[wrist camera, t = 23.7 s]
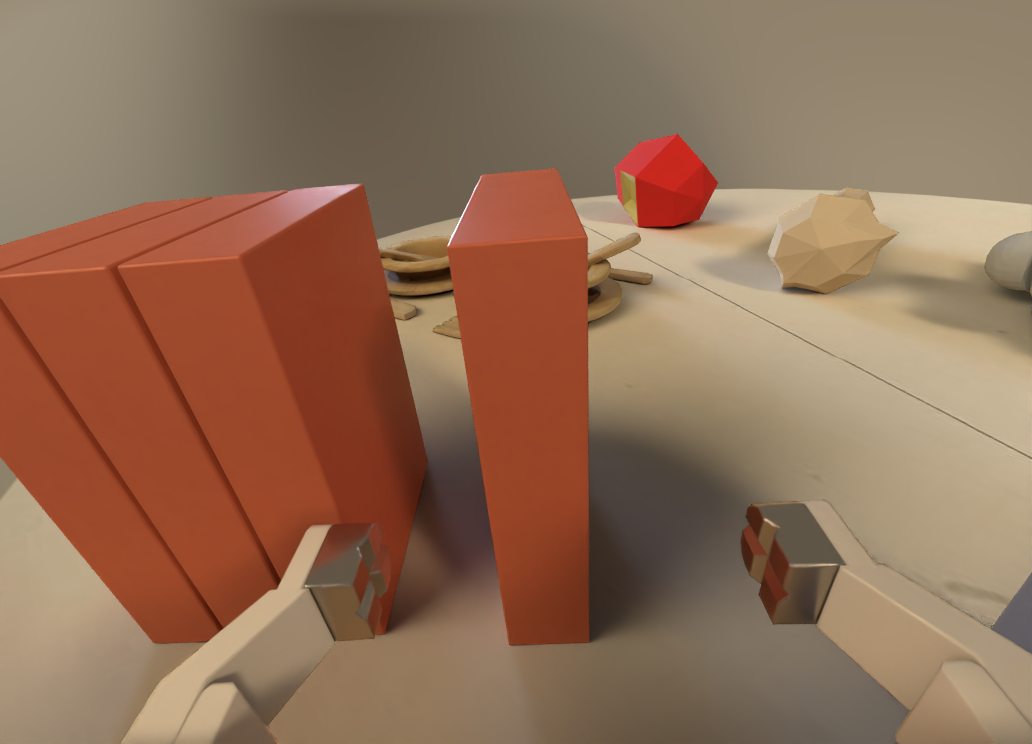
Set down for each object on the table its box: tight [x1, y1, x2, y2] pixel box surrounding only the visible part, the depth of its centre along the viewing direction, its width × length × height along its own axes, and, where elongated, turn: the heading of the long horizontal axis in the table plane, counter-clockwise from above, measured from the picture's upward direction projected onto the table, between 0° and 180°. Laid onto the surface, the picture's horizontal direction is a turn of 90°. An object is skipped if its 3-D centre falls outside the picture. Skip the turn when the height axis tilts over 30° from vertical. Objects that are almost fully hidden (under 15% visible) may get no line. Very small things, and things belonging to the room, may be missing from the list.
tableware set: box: [378, 233, 653, 338], centre depth 48 cm, size 30×20×6 cm, turn 53°
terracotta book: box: [447, 169, 590, 645], centre depth 18 cm, size 10×3×15 cm, turn 179°
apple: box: [615, 134, 718, 227], centre depth 65 cm, size 12×12×15 cm
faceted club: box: [768, 188, 899, 294], centre depth 47 cm, size 9×8×25 cm
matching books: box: [0, 184, 428, 643], centre depth 19 cm, size 10×9×15 cm
